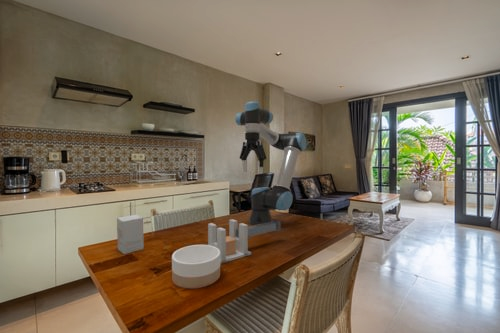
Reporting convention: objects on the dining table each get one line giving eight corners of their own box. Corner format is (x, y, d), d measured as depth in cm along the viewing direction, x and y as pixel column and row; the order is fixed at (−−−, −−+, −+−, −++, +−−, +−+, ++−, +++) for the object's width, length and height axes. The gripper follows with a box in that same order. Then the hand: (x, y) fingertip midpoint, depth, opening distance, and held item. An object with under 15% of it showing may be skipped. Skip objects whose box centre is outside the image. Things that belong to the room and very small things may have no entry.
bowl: (174, 293, 75) (174, 267, 75) (169, 269, 91) (169, 248, 90) (226, 282, 82) (226, 258, 81) (213, 261, 98) (213, 241, 97)
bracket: (236, 246, 114) (236, 218, 114) (251, 254, 105) (251, 224, 104) (204, 254, 104) (203, 224, 104) (217, 264, 95) (217, 231, 94)
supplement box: (137, 244, 117) (136, 214, 116) (144, 249, 110) (143, 217, 110) (117, 249, 110) (116, 217, 110) (123, 254, 104) (122, 221, 103)
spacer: (228, 235, 108) (219, 238, 105) (236, 239, 103) (226, 242, 100) (228, 248, 108) (219, 251, 105) (236, 253, 104) (226, 255, 101)
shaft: (274, 228, 124) (274, 219, 123) (280, 230, 120) (280, 221, 120) (235, 237, 109) (235, 227, 109) (241, 240, 106) (241, 230, 106)
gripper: (233, 133, 131) (233, 171, 132) (261, 129, 111) (261, 174, 112) (244, 134, 136) (244, 171, 137) (273, 130, 116) (273, 174, 117)
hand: (252, 172), depth 125 cm, fingers open, 13 cm apart
